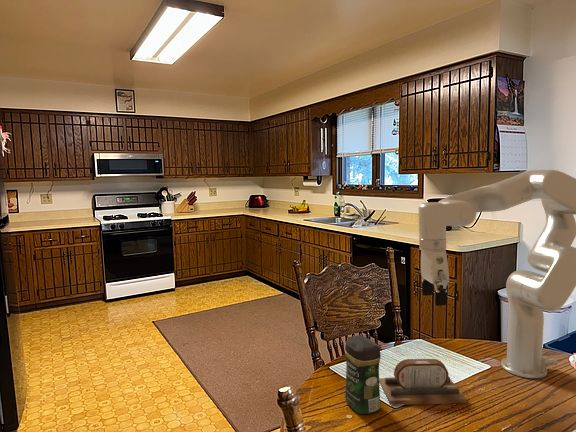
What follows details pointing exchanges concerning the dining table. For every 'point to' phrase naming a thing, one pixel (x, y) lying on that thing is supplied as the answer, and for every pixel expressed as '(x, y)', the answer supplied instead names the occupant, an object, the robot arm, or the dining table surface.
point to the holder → (421, 393)
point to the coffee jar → (362, 374)
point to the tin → (421, 373)
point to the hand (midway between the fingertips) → (433, 299)
